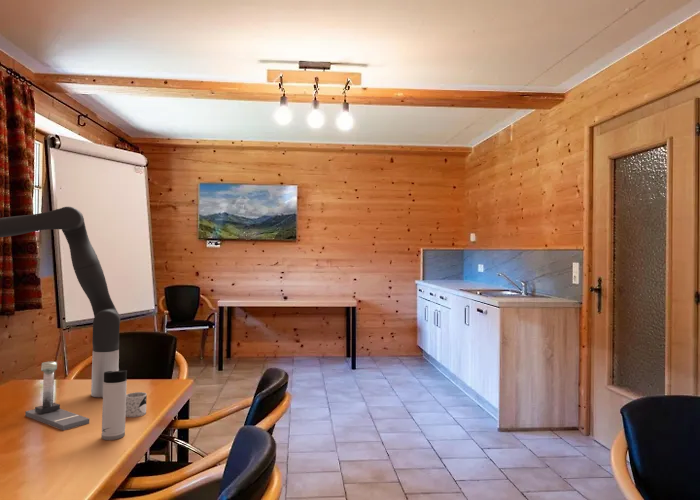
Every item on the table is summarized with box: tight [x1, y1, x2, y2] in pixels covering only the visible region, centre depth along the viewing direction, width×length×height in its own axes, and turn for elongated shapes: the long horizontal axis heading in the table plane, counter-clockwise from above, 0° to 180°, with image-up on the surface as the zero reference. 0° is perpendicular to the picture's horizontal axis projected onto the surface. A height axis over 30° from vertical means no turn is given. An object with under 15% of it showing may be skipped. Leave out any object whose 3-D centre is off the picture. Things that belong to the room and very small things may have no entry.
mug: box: [125, 391, 148, 418], centre depth 162 cm, size 10×7×7 cm
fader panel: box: [24, 408, 90, 431], centre depth 154 cm, size 24×8×2 cm, turn 59°
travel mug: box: [101, 369, 128, 441], centre depth 140 cm, size 6×7×20 cm
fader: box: [34, 360, 61, 414], centre depth 157 cm, size 4×6×16 cm
